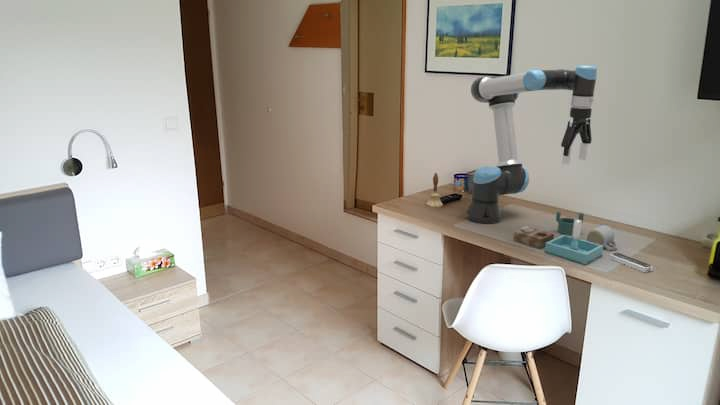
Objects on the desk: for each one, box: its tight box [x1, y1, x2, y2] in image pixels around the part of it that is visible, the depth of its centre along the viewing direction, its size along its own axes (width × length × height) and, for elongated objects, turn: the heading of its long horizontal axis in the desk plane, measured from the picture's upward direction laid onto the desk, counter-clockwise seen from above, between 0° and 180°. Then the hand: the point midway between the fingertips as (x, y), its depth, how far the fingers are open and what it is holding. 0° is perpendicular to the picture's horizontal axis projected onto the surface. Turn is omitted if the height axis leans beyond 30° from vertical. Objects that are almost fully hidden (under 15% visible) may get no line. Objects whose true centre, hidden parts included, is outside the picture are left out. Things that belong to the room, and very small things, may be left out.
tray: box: [544, 234, 604, 266], centre depth 205 cm, size 16×14×4 cm
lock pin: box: [570, 218, 583, 251], centre depth 203 cm, size 3×3×13 cm
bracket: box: [555, 211, 585, 236], centre depth 229 cm, size 9×9×9 cm
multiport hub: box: [609, 252, 654, 273], centre depth 196 cm, size 4×14×2 cm, turn 29°
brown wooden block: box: [512, 225, 555, 250], centre depth 216 cm, size 12×10×5 cm
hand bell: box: [425, 172, 444, 208], centre depth 264 cm, size 8×8×16 cm
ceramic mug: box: [587, 224, 618, 251], centre depth 212 cm, size 11×8×8 cm
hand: (574, 161), depth 211 cm, fingers open, 13 cm apart
